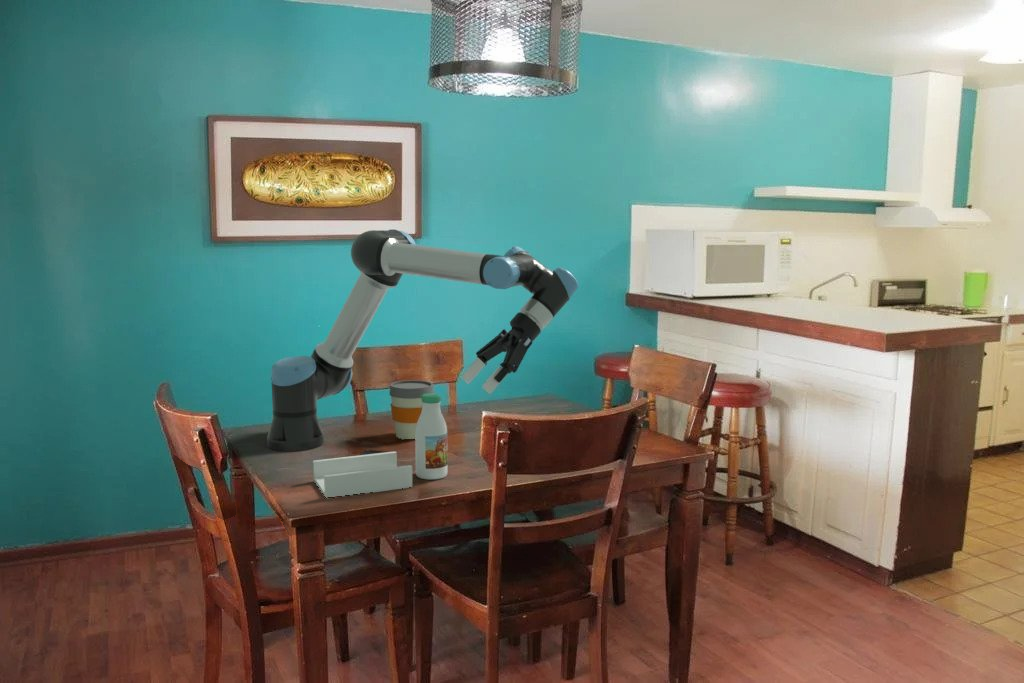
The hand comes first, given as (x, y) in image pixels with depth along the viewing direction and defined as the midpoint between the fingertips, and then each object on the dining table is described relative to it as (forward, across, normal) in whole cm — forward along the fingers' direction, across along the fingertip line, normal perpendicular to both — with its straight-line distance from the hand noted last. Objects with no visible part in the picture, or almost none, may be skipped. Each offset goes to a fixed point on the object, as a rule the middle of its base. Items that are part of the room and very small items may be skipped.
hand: (474, 385), depth 200 cm
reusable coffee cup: (+18, +38, -12) cm, 43 cm away
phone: (+31, +18, 0) cm, 36 cm away
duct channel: (+35, +1, +5) cm, 35 cm away
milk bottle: (+23, +1, -7) cm, 24 cm away
